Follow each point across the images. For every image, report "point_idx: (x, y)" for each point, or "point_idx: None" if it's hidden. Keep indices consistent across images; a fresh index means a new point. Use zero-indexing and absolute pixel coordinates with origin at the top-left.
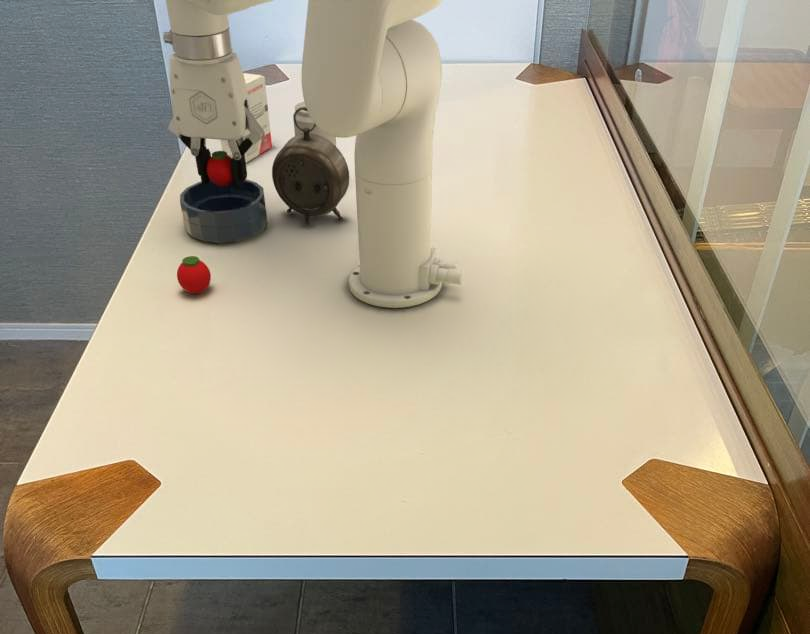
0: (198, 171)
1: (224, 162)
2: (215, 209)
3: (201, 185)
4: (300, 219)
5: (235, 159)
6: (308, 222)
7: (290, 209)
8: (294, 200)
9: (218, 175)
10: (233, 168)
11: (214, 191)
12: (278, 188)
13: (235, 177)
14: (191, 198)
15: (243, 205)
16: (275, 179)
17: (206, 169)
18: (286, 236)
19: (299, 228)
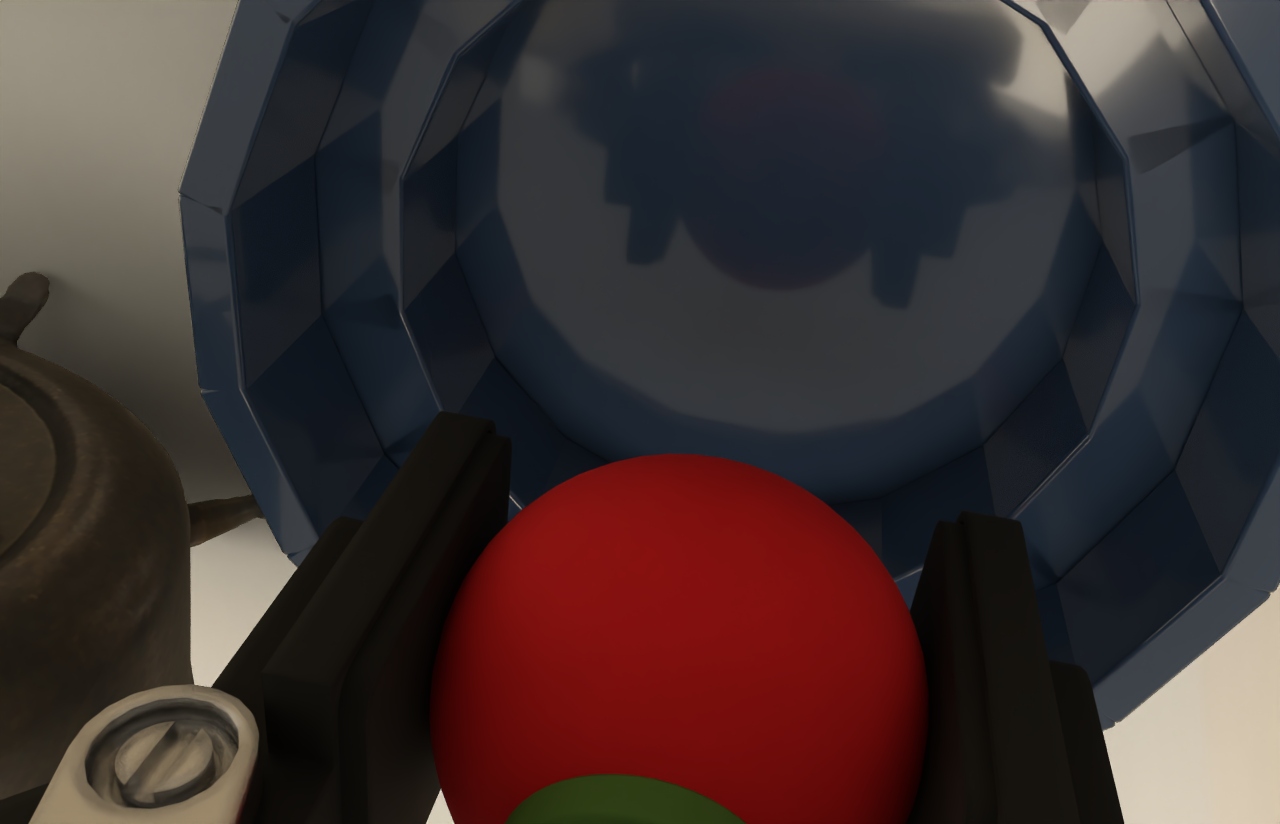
0: (1081, 696)
1: (519, 710)
2: (924, 491)
3: None
4: (155, 395)
5: (238, 700)
6: (13, 291)
7: (238, 497)
8: (2, 418)
9: (670, 503)
10: (363, 581)
11: None
12: (91, 517)
13: (403, 482)
14: (1193, 487)
15: None
16: (47, 585)
17: (930, 703)
18: (127, 57)
19: (88, 229)
